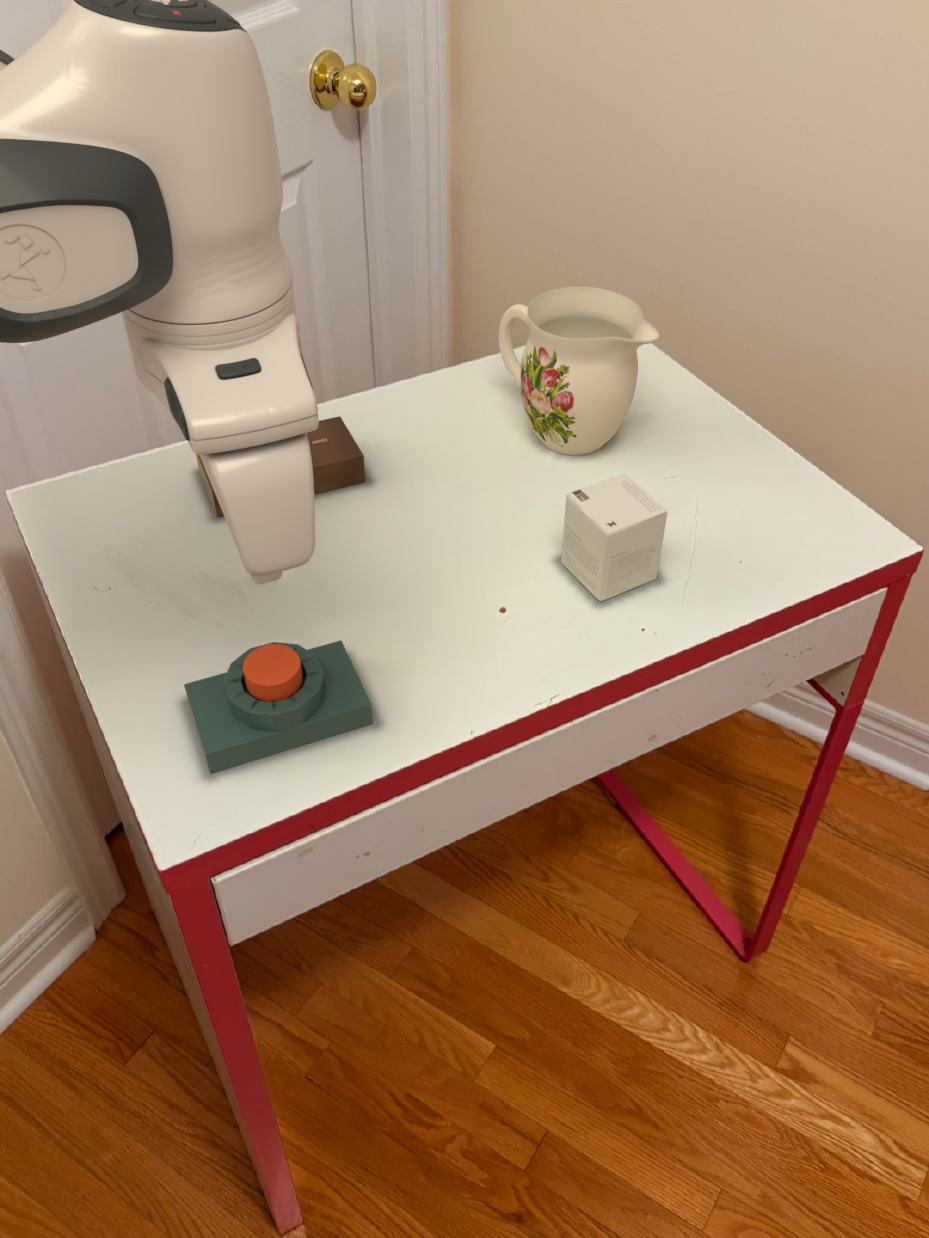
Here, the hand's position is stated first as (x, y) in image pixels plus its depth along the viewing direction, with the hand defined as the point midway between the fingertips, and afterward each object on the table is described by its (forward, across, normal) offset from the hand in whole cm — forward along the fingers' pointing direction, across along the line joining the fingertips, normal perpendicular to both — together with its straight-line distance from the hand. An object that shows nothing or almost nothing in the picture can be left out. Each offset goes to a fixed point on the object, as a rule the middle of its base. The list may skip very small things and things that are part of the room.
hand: (248, 535), depth 65 cm
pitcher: (+17, -25, +36) cm, 47 cm away
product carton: (+17, -5, +30) cm, 35 cm away
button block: (+17, 0, 0) cm, 17 cm away
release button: (+13, 0, 0) cm, 13 cm away
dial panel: (+17, -28, +8) cm, 34 cm away
